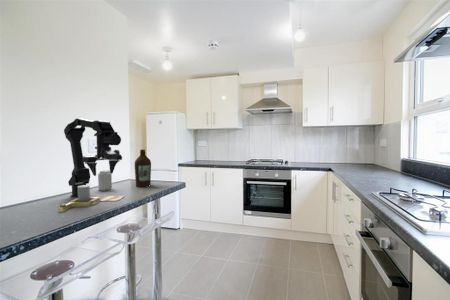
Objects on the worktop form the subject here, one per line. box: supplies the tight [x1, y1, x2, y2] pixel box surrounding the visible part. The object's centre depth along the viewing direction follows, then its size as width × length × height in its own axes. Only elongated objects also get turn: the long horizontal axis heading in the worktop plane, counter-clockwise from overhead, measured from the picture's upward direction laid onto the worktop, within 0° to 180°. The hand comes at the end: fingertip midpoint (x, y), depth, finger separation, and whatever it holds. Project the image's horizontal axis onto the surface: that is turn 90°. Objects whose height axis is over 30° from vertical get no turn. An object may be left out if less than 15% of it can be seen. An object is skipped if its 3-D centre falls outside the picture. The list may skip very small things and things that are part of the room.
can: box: [97, 169, 113, 192], centre depth 141 cm, size 8×8×12 cm
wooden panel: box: [99, 195, 125, 202], centre depth 119 cm, size 9×9×1 cm
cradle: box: [69, 196, 101, 206], centre depth 111 cm, size 11×8×2 cm
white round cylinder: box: [77, 184, 91, 202], centre depth 109 cm, size 5×5×9 cm
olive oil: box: [134, 149, 152, 188], centre depth 151 cm, size 11×11×25 cm
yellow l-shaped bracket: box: [58, 201, 92, 213], centre depth 102 cm, size 9×9×3 cm
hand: (103, 174), depth 117 cm, fingers open, 9 cm apart
